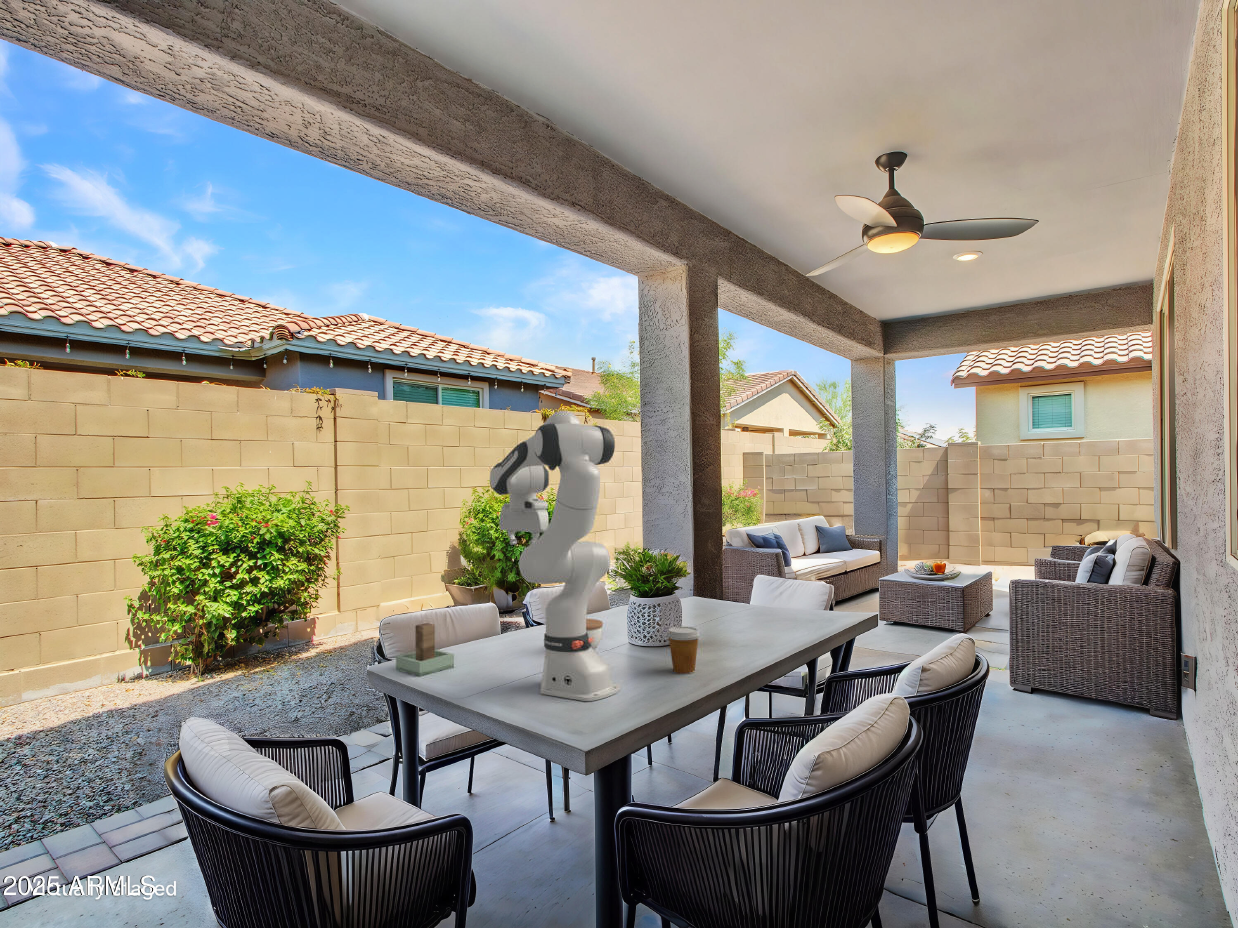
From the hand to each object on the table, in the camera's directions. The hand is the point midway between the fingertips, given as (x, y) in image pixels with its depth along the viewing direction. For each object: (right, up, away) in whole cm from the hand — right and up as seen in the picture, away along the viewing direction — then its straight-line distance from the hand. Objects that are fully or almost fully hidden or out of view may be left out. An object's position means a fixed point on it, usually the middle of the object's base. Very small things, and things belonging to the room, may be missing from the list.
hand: (523, 545), depth 215 cm
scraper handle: (-27, -34, -19) cm, 47 cm away
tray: (-27, -35, -19) cm, 48 cm away
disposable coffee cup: (+51, -34, -25) cm, 66 cm away
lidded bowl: (+20, -35, +1) cm, 41 cm away
